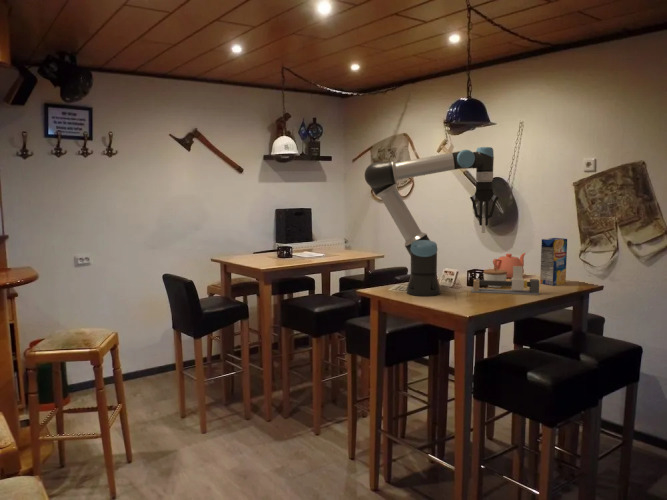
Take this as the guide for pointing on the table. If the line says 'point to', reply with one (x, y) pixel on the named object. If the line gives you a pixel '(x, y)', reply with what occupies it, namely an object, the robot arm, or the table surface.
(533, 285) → the cord rig
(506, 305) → the table surface
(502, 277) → the lidded jar
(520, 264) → the teapot
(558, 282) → the beverage box
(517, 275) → the grey upright block
